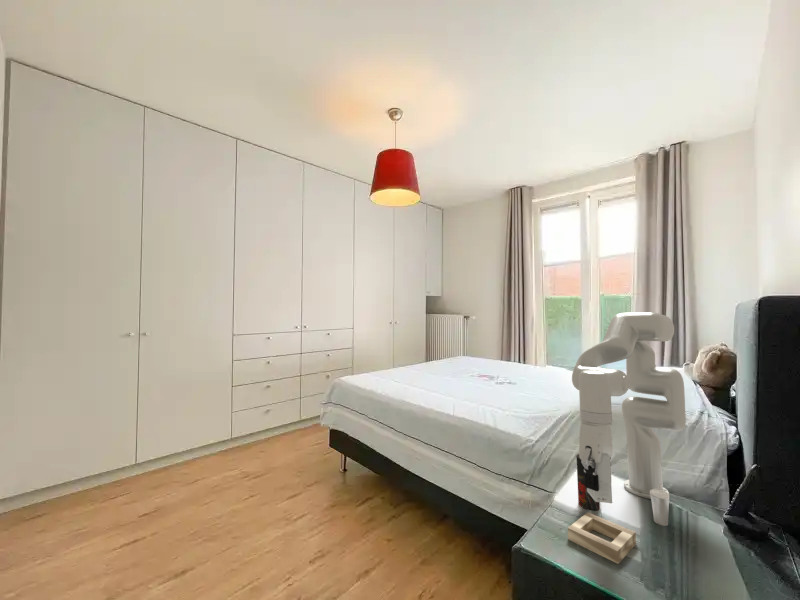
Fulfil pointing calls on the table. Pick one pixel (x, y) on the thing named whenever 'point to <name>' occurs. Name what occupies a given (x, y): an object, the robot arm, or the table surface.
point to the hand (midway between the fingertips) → (598, 484)
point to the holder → (609, 550)
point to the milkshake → (660, 505)
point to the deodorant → (584, 490)
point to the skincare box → (603, 481)
